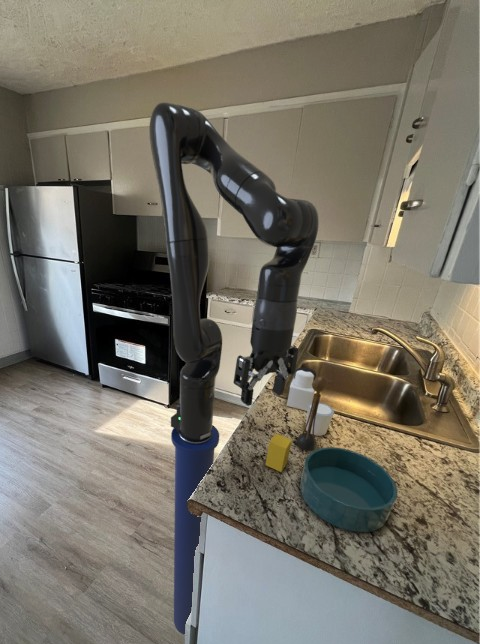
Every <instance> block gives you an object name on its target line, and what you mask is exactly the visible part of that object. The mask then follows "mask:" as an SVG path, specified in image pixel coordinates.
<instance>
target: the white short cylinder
mask: <svg viewBox="0 0 480 644" xmlns="http://www.w3.org/2000/svg"><path fill="white" fill-rule="evenodd" d="M311 406H312V403H310V404H308V409H307V411H306V419H305V424H306V423H307V421H308V417H309V414H310V410H311ZM312 409H313V408H312ZM311 413H312V412H311ZM334 414H335V409H334V408H333V407H332V406H330V405H329V404H326V403H324V402H319V405H318V409H317V414H316V419H315V425H314V436H319V437H321V436H325V435H326V434H327V433H328V429H329V427H330V425H331V422H332V419H333V417H334ZM310 417H311V416H310ZM309 422H310V419H309ZM309 422H308V425H307V427H306V430H305V431H307V430H308V426H309ZM313 422H314V420H313ZM310 434H312V435H313V424H312V428H311V432H310Z"/></svg>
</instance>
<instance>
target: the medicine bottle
mask: <svg viewBox="0 0 480 644" xmlns="http://www.w3.org/2000/svg"><path fill="white" fill-rule="evenodd" d="M315 378H317V372H316V371H315V369H312V368H309V367H298V368H296V369H295V373H294V377H293V378H292V380H291V383H290V385H289V389H288V393H287V400H286V407H289V408H292V409H298V410H301V411H305V412H307V409H308V404H310V403H312V401H313V397H314V394H315V393H316V391H315V390H314V389H313V388H312V382H313V381H314V379H315Z"/></svg>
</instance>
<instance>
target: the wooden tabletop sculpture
mask: <svg viewBox="0 0 480 644" xmlns="http://www.w3.org/2000/svg"><path fill="white" fill-rule="evenodd" d="M333 384H334V380H332V379H330V380H328V378H326V377H325V376H323V375H318V376H316V378H315V379H314V381H313V382H312V388H313V389H314V390H315V392H314V397H313V401H312V406H311V410H310V414H309V417H308V421H307V423H306V422H305V425H304V429H303V430H302V432H301V433H300V435H298V437H297V439H296V441H295V443H296V446H297V447H298V448H300V449H301V450H304V451H307V452H312V451H314V450H316V447H317V440H316V438H315V435H314V425H315V419H316V414H317V409H318V405H319V403H320V402H321V401H320V400H321V396H322V394H321V392H324V391H325V390H326V389H327V388H328V386H332V385H333ZM312 408H313V409H312ZM311 412H312V413H311ZM310 416H311V417H310ZM309 419H310V422H309ZM313 420H314V422H313ZM308 422H309V426H308V430H306V427H307V425H308ZM312 424H313V434H311V433H310V432H311V428H312Z"/></svg>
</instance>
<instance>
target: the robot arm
mask: <svg viewBox="0 0 480 644" xmlns="http://www.w3.org/2000/svg"><path fill="white" fill-rule="evenodd" d="M149 142H150V150H151V156H152V162H153V166H154V171H155V175H156V180H157V186H158V191H159V196H160V202H161V209H162V217H163V226H164V235H165V238H164V239H165V248H166V255H167V263H168V269H169V278H170V288H171V299H172V301H171V302H172V324H173V325H172V332H173V334H172V335H173V344H174V348H175V351H176V353H177V355H178V357H179V358H180V359H181V360H182V361H184V362H185V364H184V366H182V368H181V369H180V372H179V403H177V404H176V413H175V414H173V415H172V416H171V417H170V427H171V428H172V429H173V428H175V429H176V433H177V434H178V435H179V436H180V438H181V439H182V440H183V441H184V442H186V443H189V444H203V443H206V442H208V441H209V440H210V439H211V437H212V425H213V422H214V421H213V420H214V407H215V406H214V405H215V392H216V380H217V379H216V378H217V376H218V374H219V372H220V371H219V370H220V367H221V358H222V351H223V350H222V349H223V335H222V330H221V328H220V325H218V324H217V322H216V321H215V320H213V319H210V318H201V310H200V309H201V308H200V307H201V306H200V304H201V296H202V294H203V293H202V292H203V289H204V285H205V282H206V280H207V279H206V278H207V275H208V271H209V266H210V248H209V237H208V230H207V226H206V224H205V222H204V220H203V218H202V216H201V214H200V212H199V210H198V208H197V207H196V205H195V203H194V201H193V200H192V198H191V196H190V194H189V191H188V189H187V186H186V182H185V177H184V171H183V165H190V164H191V165H194V166H197V167H199V168H201V169H203V170H205V171H206V172H208V174H210V176H211V177H212V180H213V184H214V186H215V189H216V191H217V192H218V194H219V195H220V196H221V198H222V199H223V200H224V201H225V202H227V203H228V204H229V205H230V206H231V207H232V208H233V209H234V210H236V211H237V212H238V213H239V214H240V215H241V216H242V217H243V220H244V221H245V222H246V224H247V226H248V227H249V229H250V230H251V232H252V233H253V235H254V236H255V237H256V238H257V239H258V240H259V241H260V242H262V243H263V244H265V245H267V246H269V247H271V248H276V249H275V252H274V255H273V257H272V259H270V260H269V261H267V262H266V263H264V264H263V265H262V266H261V268H260V271H259V277H258V285H257V292H256V299H255V303H254V307H253V314H252V315H253V317H252V325H251V332H250V340H249V341H250V346H251V352H250V354H249V355H247V356H242V355H241V354H240V355H238V356H237V358H236V362H235V370H234V374H233V375H234V377H233V384H234V385H235V386H237V387H238V388H239V389H241V393H240V401H241V402H242V403H243V404H244V405H245V406H247V407H249V406H252V405H253V398H254V389H255V388H254V387H256V384H257V383H258V382H260V381H262V379H263V377H264V376H266V375H269V374H274V373H275V376H274V380H273V385H272V392H273V393H274V394H276V395H277V396H281V395H283V394H284V390H285V387H286V381H287V379H288V378H289V377H290V375H291V376H292V375H293V376H294V375H295V371H296V369H297V361H298V356H299V355H298V354H299V348H298V347H297V346H294V345H292V344H293V343H292V342H293V336H294V330H295V324H296V320H297V312H298V299H299V294H300V287H301V281H302V275H303V272H304V270H305V268H306V265H307V264H308V261H309V258H310V256H311V253H312V251H313V248H314V246H315V243H316V241H317V236H318V231H319V225H320V221H319V220H320V219H319V213H318V210H317V208H316V206H315V205H314V204H313V203H312V202H311V201H309V200H306V199H297V198H289V197H285V196H284V195H282V194H279V193H278V192H277V187H276V185H275V184H276V183H275V182H274V181H273V180H272V179H271V178H270V176H269V175H267V174H266V173H265V172H264V171H262V170H261V169H259V168H258V167H257V166H256V165H255V164H253V163H252V162H250V161H249V160H248V159H246V158H245V157H244V156H242V155H241V154H240V153H239V152H237V151H236V150H235V149H234V148H233V147H232V146H231V145H230V144H229V143H228V142H227V141H226V139H224V137H223V136H222V135H221V134H220V133H219V132H218V130H217V129H216V128H215V126H213V124H212V123H211V122H210V121H209V119H208V118H207V117H206V116H205V115H204V114H203V113H202V112H201V111H200V110H198V109H196V108H194V107H189V106H185V105H181V104H177V103H172V102H165V101H163V102H159V103H157V104H156V105H155V106H154V108H153V109H152V112H151V114H150V118H149ZM254 371H255V372H256V373H254ZM249 380H250V381H249Z"/></svg>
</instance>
